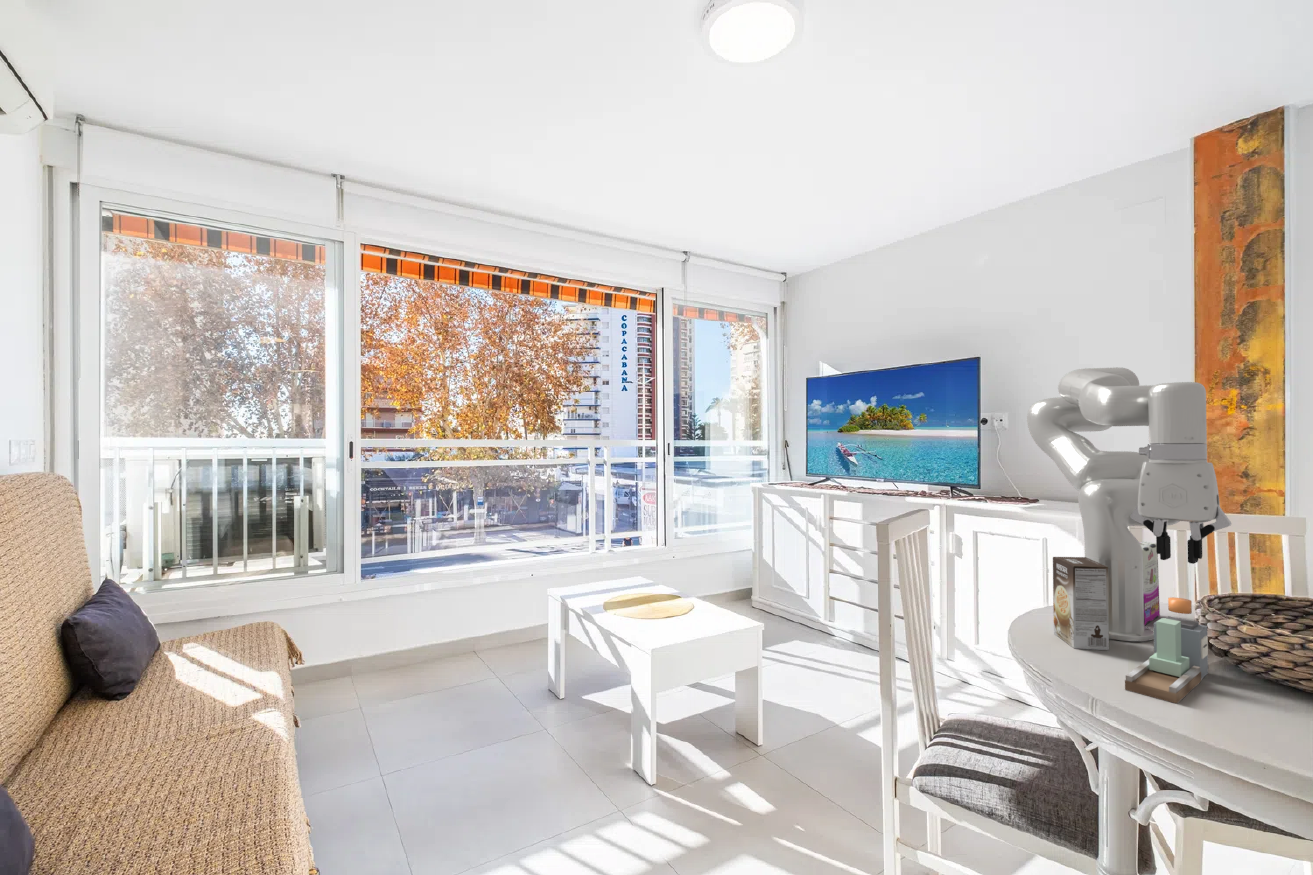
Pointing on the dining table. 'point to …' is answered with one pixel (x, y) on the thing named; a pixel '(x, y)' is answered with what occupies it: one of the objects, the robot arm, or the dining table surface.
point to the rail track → (1162, 683)
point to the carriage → (1169, 649)
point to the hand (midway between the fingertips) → (1179, 559)
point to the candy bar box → (1150, 582)
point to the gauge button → (1179, 605)
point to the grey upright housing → (1191, 643)
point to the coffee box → (1081, 602)
